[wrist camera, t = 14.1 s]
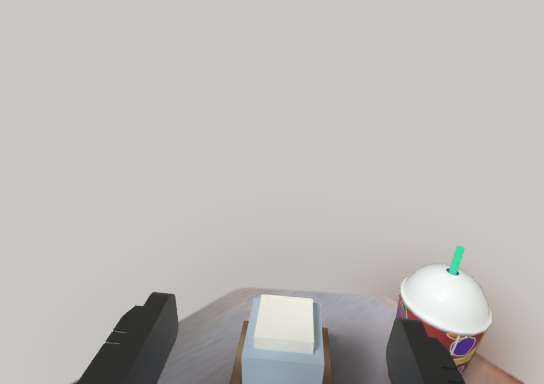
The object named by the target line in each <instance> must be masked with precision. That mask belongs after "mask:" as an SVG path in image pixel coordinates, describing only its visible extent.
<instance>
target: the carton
mask: <svg viewBox="0 0 544 384" xmlns="http://www.w3.org/2000/svg"><path fill="white" fill-rule="evenodd" d="M241 361H242V384H322V380H323V373H324V351H323V336H322V321H321V307H320V303H313V299H309V298H297V297H286V296H274V295H261V298H254V300H253V304H252V309H251V314H250V318H249V323H248V328H247V333H246V337H245V342H244V347H243V352H242V356H241Z"/></svg>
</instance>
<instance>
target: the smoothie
mask: <svg viewBox="0 0 544 384" xmlns="http://www.w3.org/2000/svg"><path fill="white" fill-rule="evenodd" d="M463 251H464V248H463V247H461V246H457V247H456V251H455V253H454V257H453V260H452V263H451V265H447V264H431V265H427V266H423V267H422V268H420V269H418V270H417V271H415V272H414V273H412V274H411V275H410V276H409V277H407V278H405V279H404V280H403V281H402V284H401V286H400V295H399V301H398V308H397V314H396V318H406V319H416V320H420V321H421V322H422V324H423V326H424V328H425V330H426V332H427V335H428V337H432V338H437V339H438V340H439V341H440V342H441V343H442V344H443V345H444V346H445V348H446V349H447V350H448V351H449V352H450V353H451V356H452V358H453V360H454V362H455V364H456V366H457V368H458V372H460V374H461V376H462V375H463V374H464V372H465V370H466V368H467V366H468V364H469V363H470V361H471V359H472V357H473V355H474V353H475V351H476V350H477V348H478V346H479V344H480V342H481V340H482V338H483V337H484V335H485V333H486V331H487V329H488V328H489V327H490V325H491V324H492V313H491V310H490V308H489V305H488V302H487V298H486V296H485V294H484V292H483V289H482V287H481V286H480V285H479V283H478V282H477V281H476V280H475V279H474V278H473V277H472V276H471V275H469V274H468V273H467V272H465V271H463V270H462V269H459V268H458V267H459V264H460V261H461V258H462V255H463ZM388 375H389V378H390V380H391V377H390V373H389V369H388ZM391 383H392V380H391Z"/></svg>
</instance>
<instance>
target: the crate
mask: <svg viewBox="0 0 544 384" xmlns="http://www.w3.org/2000/svg"><path fill="white" fill-rule="evenodd" d="M248 323H249V321H244V323H243V328H242V332H241V337H240V341H239V346H238V350H237V355H236V359H235V364H234V368H233V373H232V378H231V382H230V384H242V361H241V356H242V352H243V347H244V342H245V337H246V333H247V328H248ZM322 336H323V351H324V373H323V380H322V384H333V380H332V370H331V360H330V350H329V339H328V329H327V328H323V327H322Z"/></svg>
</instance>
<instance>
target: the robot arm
mask: <svg viewBox="0 0 544 384" xmlns="http://www.w3.org/2000/svg"><path fill="white" fill-rule="evenodd" d="M177 332H178V316H177V308H176V299H175V295H174V294H168V293H167V294H166V293H157V292H153V293H152V294H151V295H150V296H149V298H148V299H147V301H146V302H145V304H144V306H135V307H133V308H132V309H131V310H130V311H128V312H127V313H126V314H125V315H123V317H122V318H121V319H120V321H119V322H118V324H117V325H116V327H115V328H114V329H113V332H112V333H111V334H110V336H109V337H108V338H107V340H106V343H105V344H103V346H102V347H101V349H100V350H99V352H98V353H97V355H96V356H95V357H94V359H93V360H92V362H91V363H90V365H89V366H88V368H87V369H86V371H85V372H84V374H83V375H82V377H81V378H80V380H79V381H78V383H77V384H157V381H158V379H159V377H160V374H161V372H162V370H163V368H164V365H165V363H166V361H167V358H168V356H169V354H170V352H171V349H172V347H173V345H174V342H175V340H176V337H177ZM386 360H387V366H388V369H389V373H390V377H391V380H392V384H465V382H464V380H463V378H462V376H461V374H460V372H458V368H457V366H456V364H455V362H454V360H453V358H452V356H451V353H450V352H449V351H448V350H447V349H446V348H445V346H444V345H443V344H442V343H441V342H440V341H439V340H438V339H437V338H432V337H428V335H427V332H426V330H425V328H424V326H423V324H422V322H421V321H420V320H416V319H406V318H396V319H395V321H394V324H393V328H392V331H391V334H390V338H389V341H388V344H387V349H386Z"/></svg>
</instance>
